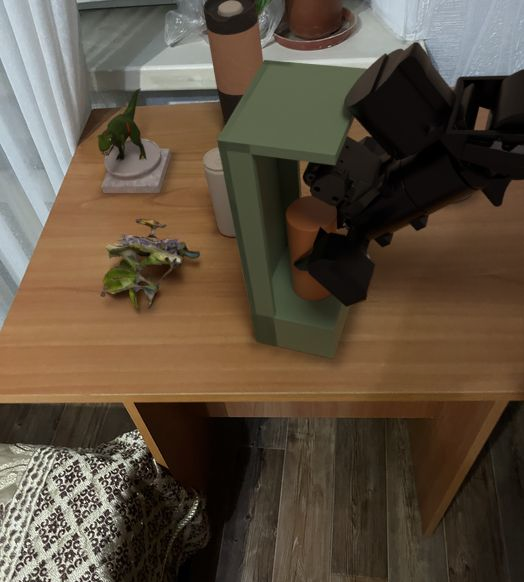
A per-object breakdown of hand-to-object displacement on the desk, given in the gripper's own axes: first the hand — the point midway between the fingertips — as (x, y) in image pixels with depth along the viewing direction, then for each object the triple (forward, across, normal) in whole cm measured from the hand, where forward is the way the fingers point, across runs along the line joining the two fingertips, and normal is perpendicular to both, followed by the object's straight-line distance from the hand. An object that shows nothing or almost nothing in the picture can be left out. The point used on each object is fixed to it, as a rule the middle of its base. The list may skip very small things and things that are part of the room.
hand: (303, 248), depth 61 cm
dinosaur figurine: (+33, -22, -16) cm, 43 cm away
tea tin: (+3, 0, +5) cm, 6 cm away
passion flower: (+24, +1, -6) cm, 25 cm away
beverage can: (+19, -12, -2) cm, 23 cm away
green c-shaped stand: (+7, 0, +9) cm, 12 cm away
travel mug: (+23, -34, -6) cm, 42 cm away
